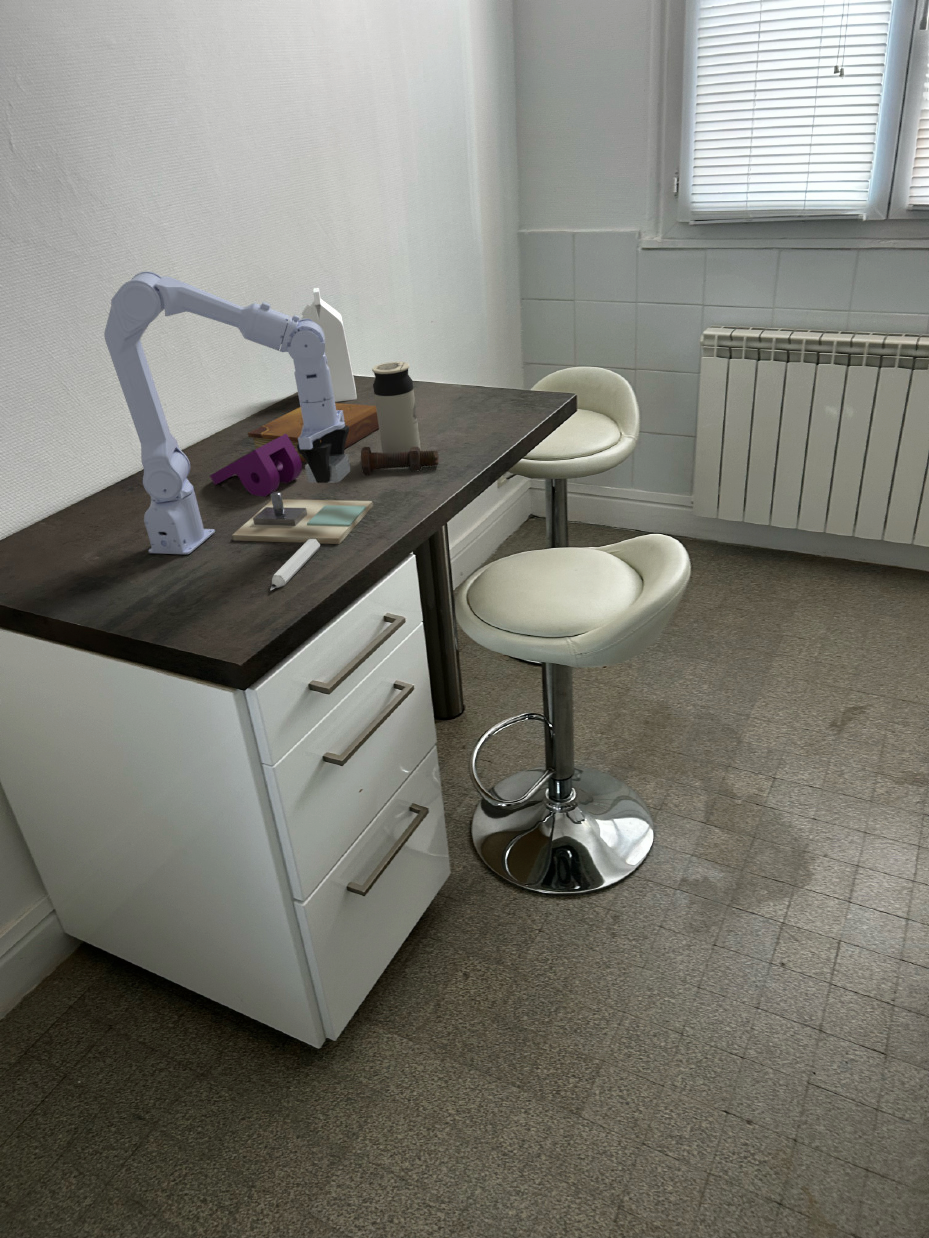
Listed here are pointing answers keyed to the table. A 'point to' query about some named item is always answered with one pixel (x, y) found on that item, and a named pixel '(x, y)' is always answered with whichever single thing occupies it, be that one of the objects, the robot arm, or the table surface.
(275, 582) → the marker
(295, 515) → the peg base
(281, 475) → the mounting bracket
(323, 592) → the table surface
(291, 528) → the board
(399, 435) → the travel mug
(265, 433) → the diary
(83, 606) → the table surface
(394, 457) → the bolt
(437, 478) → the table surface
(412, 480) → the table surface
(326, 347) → the milk
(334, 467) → the square hollow frame
